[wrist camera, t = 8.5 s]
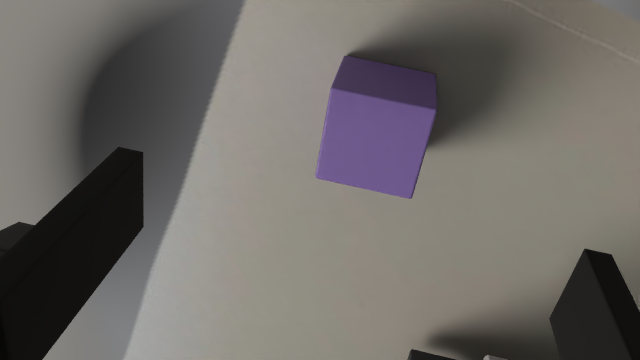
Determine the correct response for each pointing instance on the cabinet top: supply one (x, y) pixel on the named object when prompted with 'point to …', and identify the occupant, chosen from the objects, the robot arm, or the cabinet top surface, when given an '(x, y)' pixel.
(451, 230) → the cabinet top surface
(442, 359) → the drawer
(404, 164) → the purple cube
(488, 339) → the cabinet top surface
